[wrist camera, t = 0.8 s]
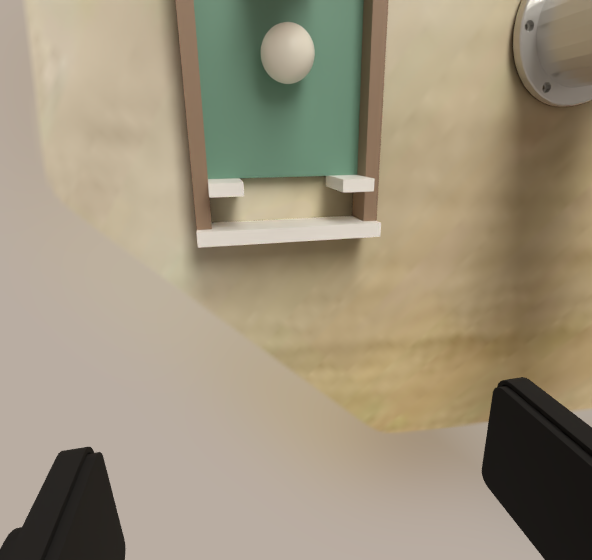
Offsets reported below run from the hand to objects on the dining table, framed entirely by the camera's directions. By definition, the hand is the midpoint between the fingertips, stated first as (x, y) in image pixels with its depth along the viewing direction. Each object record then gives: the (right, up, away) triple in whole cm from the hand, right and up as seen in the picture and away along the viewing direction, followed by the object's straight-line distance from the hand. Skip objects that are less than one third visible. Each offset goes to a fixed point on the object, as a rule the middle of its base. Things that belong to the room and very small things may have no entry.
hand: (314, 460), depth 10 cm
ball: (-1, +21, +20) cm, 29 cm away
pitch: (-2, +21, +24) cm, 32 cm away
